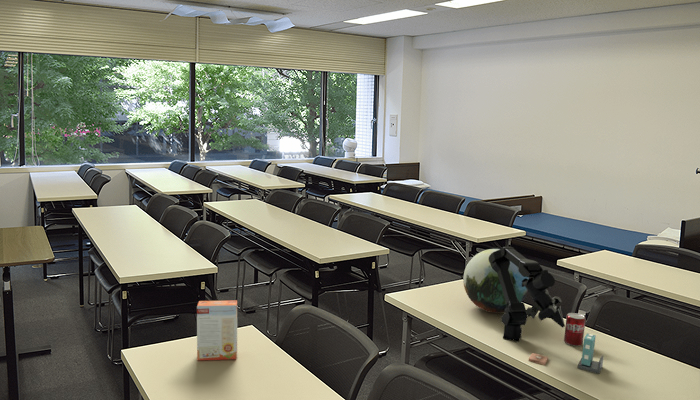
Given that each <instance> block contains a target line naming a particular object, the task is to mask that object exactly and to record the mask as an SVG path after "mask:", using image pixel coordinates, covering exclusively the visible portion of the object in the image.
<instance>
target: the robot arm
mask: <svg viewBox="0 0 700 400" xmlns="http://www.w3.org/2000/svg"><path fill="white" fill-rule="evenodd" d="M499 249H500V250H497V251H495V252H493V253H491V255H490V256H489V262H490V265H491V267H492V269H493V270H494V271H496V272H497V274H498V277H499V281H500V284H501V287H502V291H503V294H504V297H505V301H506V307H505V310H504V311H505V312H504V314H502V315H501V316H500V323H502V324H503V325H504V328H503V336H502V339H504V340H508V341H512V342H513V341H514V342H519V341H520V340H521V338H522V333H523V327H522V326H525V325H526V322H527V320H528V318H531V319H533V320H534V319H535V317H536V316H537V317H538V319H539V320H540V322H541V321H544V320H545V319H551V320H552V321H553V322H554V323H556V324H557V325H558V326H559V327H561V329H562V328H565V326H566V323H565V321H564V317H563V312H562V307H561V305H558V306H557V304H561V303H562V302H563V301H562V299H561V297H560V296H556V295H555V296H554V297H552V296H551V295H550V293H549V290H548V289H550V288H553V286H554V285H555V284H556V283H555V282H556V280H555V277H554V276H553V275H552V274H551V273H549V270H548V269H543V267H542V265H541V264H540V263H539V262H538V261H536V260H534V259H533V260H532V259H528V258H526V257H525V256H524V255H522V254H521V253H520V252H518V251H517V250H516V249H515V247H512V246H503V247H500V248H499ZM510 261H511V262H512V263H513V264H515V265H516V266H517V267H518V271H519V272H520V274H521V275H522V276H523V277H529V279H526V278H525V279H524V280H522V287H524V286H525V287H526V289H527V290H528V293H529V295H531V297H532V302H533V305H531V307H530V306H528V307H527V308H526V305H525V303H524V302H523V301H522V302H519V301H518V299H517V296H516V293H515V289H514V286H513V283H512V280H511V277H510V273H509V270H508V269H509V266H510ZM537 314H538V315H537Z"/></svg>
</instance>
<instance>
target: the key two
mask: <svg viewBox="0 0 700 400" xmlns="http://www.w3.org/2000/svg"><path fill="white" fill-rule="evenodd" d="M595 343H596V334H595V335H594V334H591V333H586V334H585V337H583V344H582V345H583V346H582V352H581V353H582V354H581V358H582V361H581V364H584V365H587V366H590V365H591V363H592V361H594V360H593V359H594V353H595V352H594V351H595Z"/></svg>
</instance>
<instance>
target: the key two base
mask: <svg viewBox="0 0 700 400" xmlns="http://www.w3.org/2000/svg"><path fill="white" fill-rule="evenodd" d="M604 357H605V356H604V355H603V354H602V355H600V357H599V358H600V359H599V360H598V361H596V360H593V361H592V363H591V365H590V366H587V365H584V364H581V361H582V357H581V358H580V360H579V361H578V364H577V369H579V370H583V371H587V372H590V373H594V374H597V375H600V373H601V371H602V369H603V363H604Z"/></svg>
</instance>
